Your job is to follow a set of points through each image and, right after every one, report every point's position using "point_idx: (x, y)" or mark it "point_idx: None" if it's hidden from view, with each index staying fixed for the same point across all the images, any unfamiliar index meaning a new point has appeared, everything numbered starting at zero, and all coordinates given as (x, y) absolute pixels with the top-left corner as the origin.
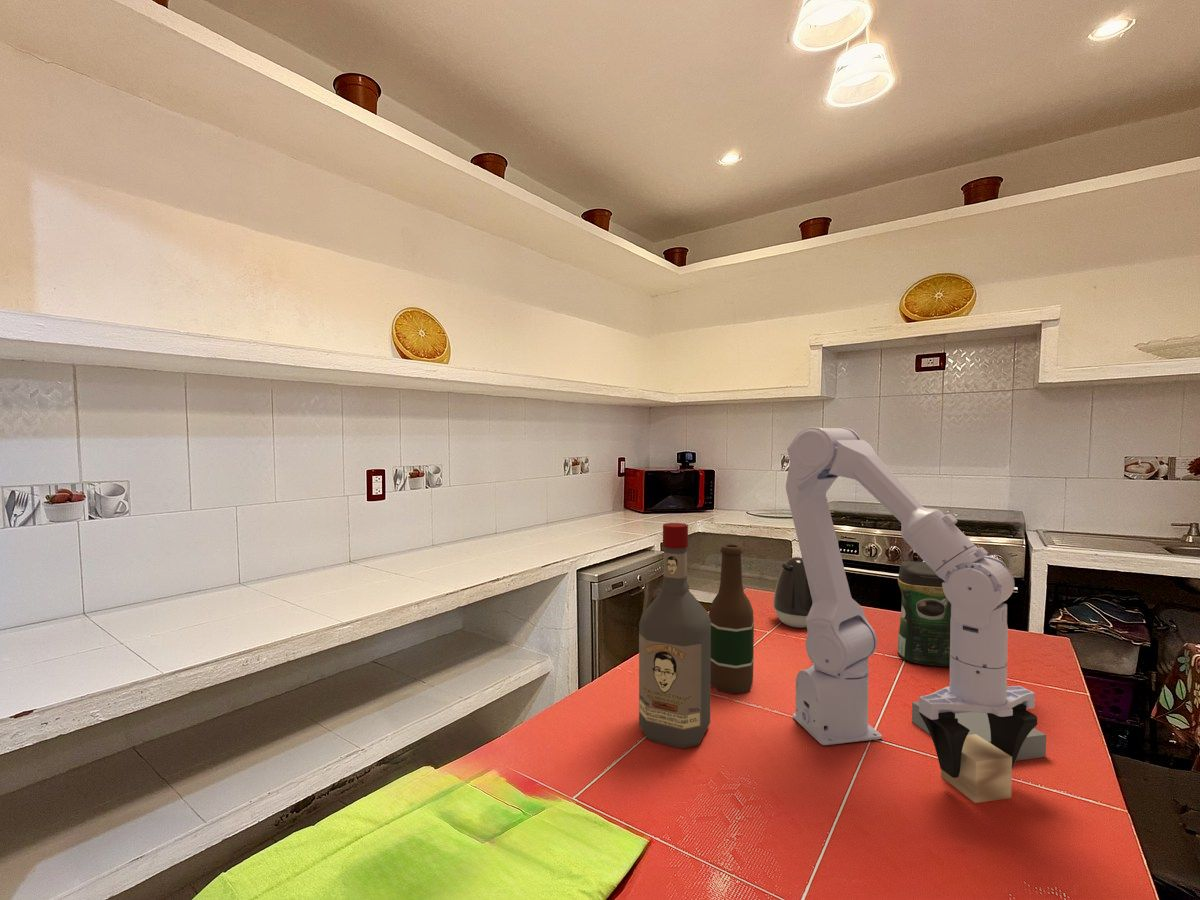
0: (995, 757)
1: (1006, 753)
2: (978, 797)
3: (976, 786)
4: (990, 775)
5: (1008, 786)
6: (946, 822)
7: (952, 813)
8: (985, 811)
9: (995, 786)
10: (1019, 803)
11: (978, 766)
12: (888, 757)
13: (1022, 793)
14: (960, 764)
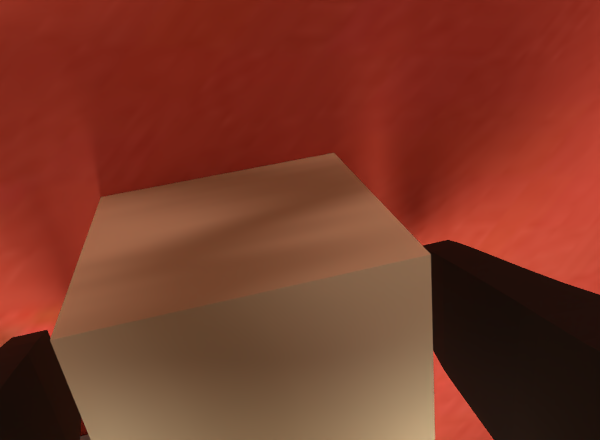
0: (216, 322)
1: (21, 423)
2: (320, 165)
3: (353, 183)
4: (262, 228)
5: (114, 219)
6: (582, 8)
7: (503, 74)
8: (328, 86)
9: (212, 206)
10: (84, 150)
11: (385, 242)
12: (479, 432)
13: (4, 235)
14: (472, 272)
